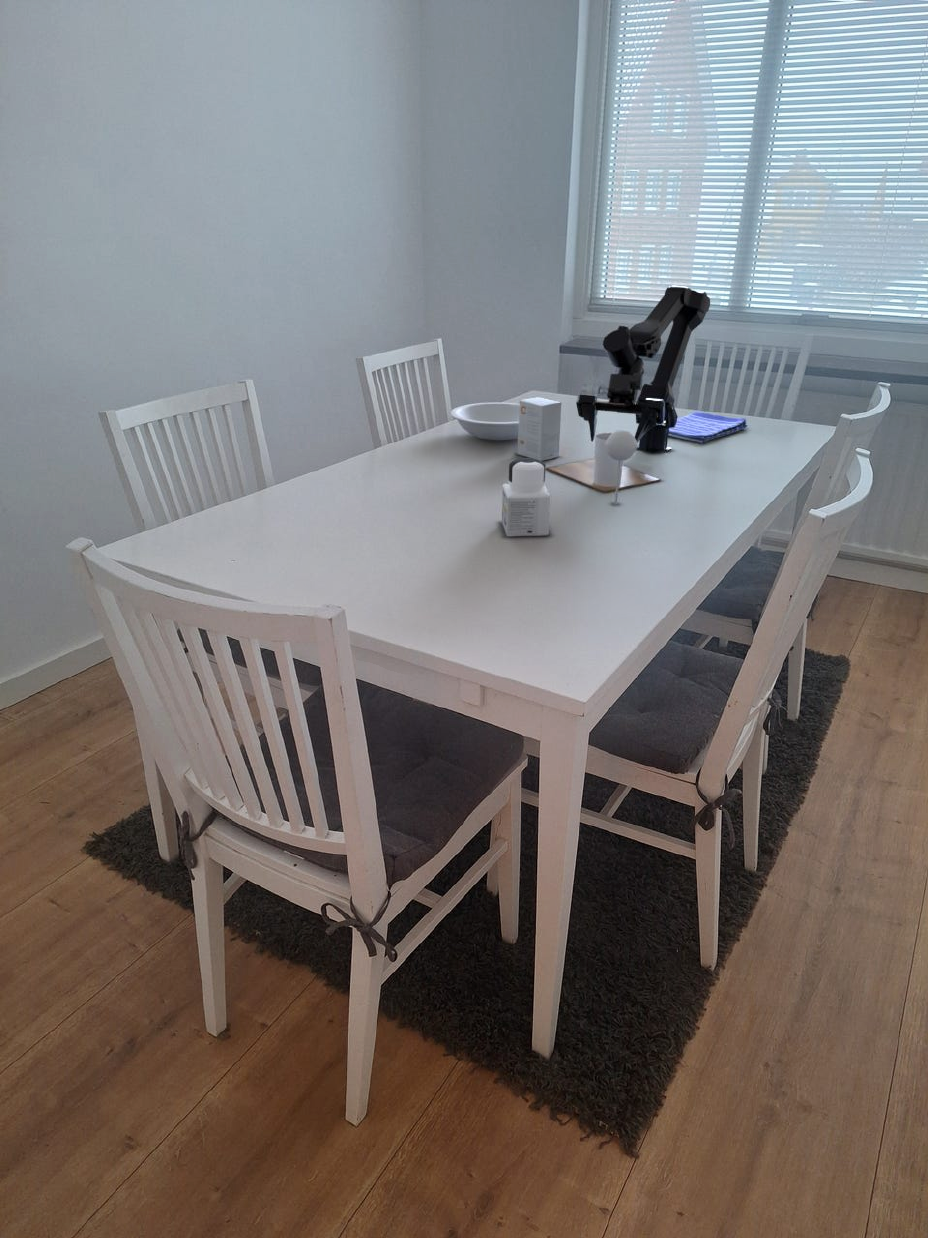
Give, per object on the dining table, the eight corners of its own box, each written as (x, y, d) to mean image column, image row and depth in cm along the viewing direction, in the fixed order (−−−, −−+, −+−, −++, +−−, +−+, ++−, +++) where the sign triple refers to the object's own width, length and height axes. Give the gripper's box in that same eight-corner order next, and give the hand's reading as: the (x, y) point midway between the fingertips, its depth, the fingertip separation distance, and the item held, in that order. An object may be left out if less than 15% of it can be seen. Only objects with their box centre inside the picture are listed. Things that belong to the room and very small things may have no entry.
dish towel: (748, 428, 221) (750, 418, 219) (703, 444, 206) (704, 433, 204) (693, 418, 232) (694, 408, 230) (645, 432, 217) (647, 421, 215)
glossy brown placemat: (600, 459, 193) (600, 457, 193) (660, 480, 178) (660, 479, 178) (546, 469, 186) (546, 467, 185) (604, 492, 170) (604, 490, 170)
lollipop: (633, 501, 165) (641, 428, 159) (628, 510, 160) (636, 435, 154) (603, 498, 167) (609, 425, 160) (597, 507, 162) (603, 432, 155)
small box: (559, 457, 195) (562, 402, 189) (540, 461, 191) (542, 405, 185) (535, 450, 200) (538, 396, 194) (516, 454, 196) (518, 399, 191)
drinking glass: (626, 480, 177) (630, 435, 172) (617, 489, 171) (621, 442, 167) (596, 476, 179) (600, 431, 175) (587, 484, 174) (590, 438, 169)
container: (501, 522, 154) (503, 455, 148) (541, 521, 155) (545, 454, 149) (506, 537, 147) (508, 467, 141) (548, 536, 148) (552, 466, 142)
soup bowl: (485, 422, 225) (485, 398, 222) (560, 435, 213) (562, 410, 210) (432, 440, 208) (431, 414, 205) (511, 455, 195) (511, 428, 192)
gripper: (581, 355, 174) (565, 418, 170) (669, 360, 168) (656, 425, 164) (586, 385, 184) (572, 445, 180) (669, 391, 179) (657, 453, 174)
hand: (613, 442), depth 174 cm, fingers open, 9 cm apart
